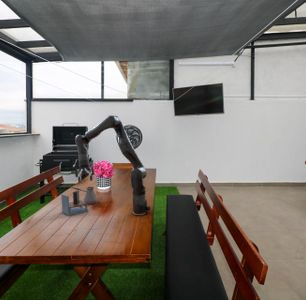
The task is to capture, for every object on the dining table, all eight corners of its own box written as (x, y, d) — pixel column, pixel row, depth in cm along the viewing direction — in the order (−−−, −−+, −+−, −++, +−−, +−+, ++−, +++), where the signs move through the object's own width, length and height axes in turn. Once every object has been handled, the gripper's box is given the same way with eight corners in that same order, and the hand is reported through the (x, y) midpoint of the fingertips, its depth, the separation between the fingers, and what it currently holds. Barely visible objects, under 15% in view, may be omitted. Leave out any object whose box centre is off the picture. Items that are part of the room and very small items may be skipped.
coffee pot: (96, 200, 219) (95, 182, 217) (99, 203, 208) (98, 185, 207) (70, 203, 211) (69, 185, 209) (72, 207, 200) (71, 188, 199)
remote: (75, 202, 193) (75, 190, 192) (79, 202, 193) (79, 190, 192) (73, 204, 189) (72, 192, 188) (77, 204, 188) (76, 192, 188)
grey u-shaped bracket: (81, 207, 199) (80, 190, 198) (87, 211, 191) (86, 192, 190) (62, 212, 190) (61, 193, 188) (68, 215, 181) (67, 196, 180)
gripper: (94, 159, 199) (96, 180, 196) (76, 162, 200) (78, 183, 197) (91, 158, 192) (93, 179, 188) (72, 161, 193) (74, 182, 189)
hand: (85, 181), depth 193 cm, fingers open, 8 cm apart
